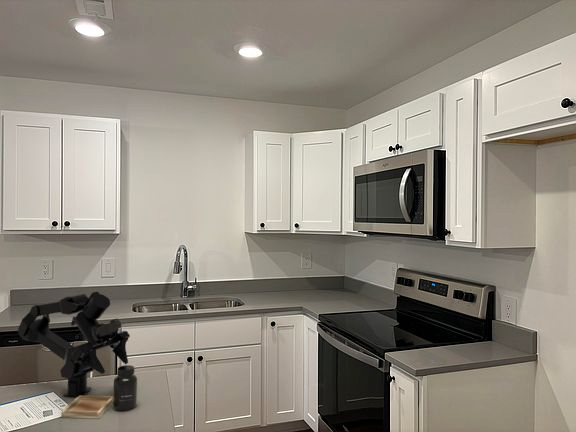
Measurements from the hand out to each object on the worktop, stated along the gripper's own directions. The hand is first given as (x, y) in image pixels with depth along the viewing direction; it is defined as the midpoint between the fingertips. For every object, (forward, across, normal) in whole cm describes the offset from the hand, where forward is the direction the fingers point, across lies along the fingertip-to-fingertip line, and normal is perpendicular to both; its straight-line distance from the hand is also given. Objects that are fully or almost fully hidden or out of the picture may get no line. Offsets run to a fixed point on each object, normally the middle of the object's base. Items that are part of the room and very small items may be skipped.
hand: (115, 368), depth 140 cm
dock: (+5, -6, +11) cm, 14 cm away
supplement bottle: (+11, 0, +5) cm, 12 cm away
